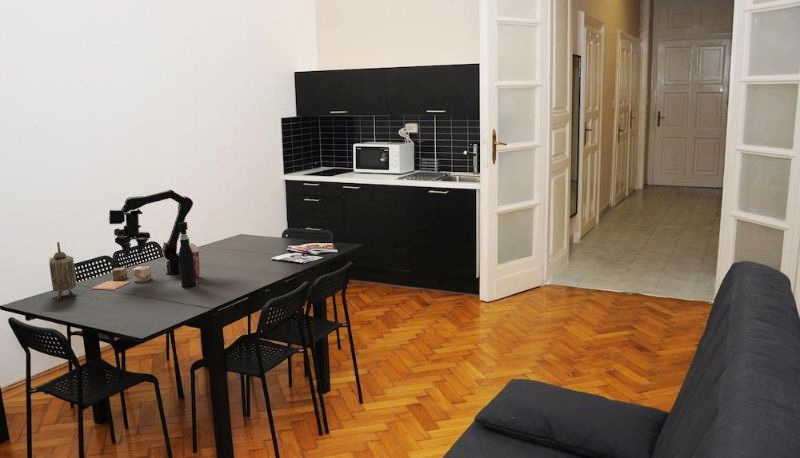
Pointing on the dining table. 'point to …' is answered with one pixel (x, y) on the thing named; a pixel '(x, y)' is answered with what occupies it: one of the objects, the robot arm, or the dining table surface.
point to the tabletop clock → (62, 272)
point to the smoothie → (195, 258)
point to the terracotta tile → (110, 285)
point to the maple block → (142, 273)
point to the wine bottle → (186, 259)
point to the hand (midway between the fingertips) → (133, 255)
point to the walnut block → (119, 273)
